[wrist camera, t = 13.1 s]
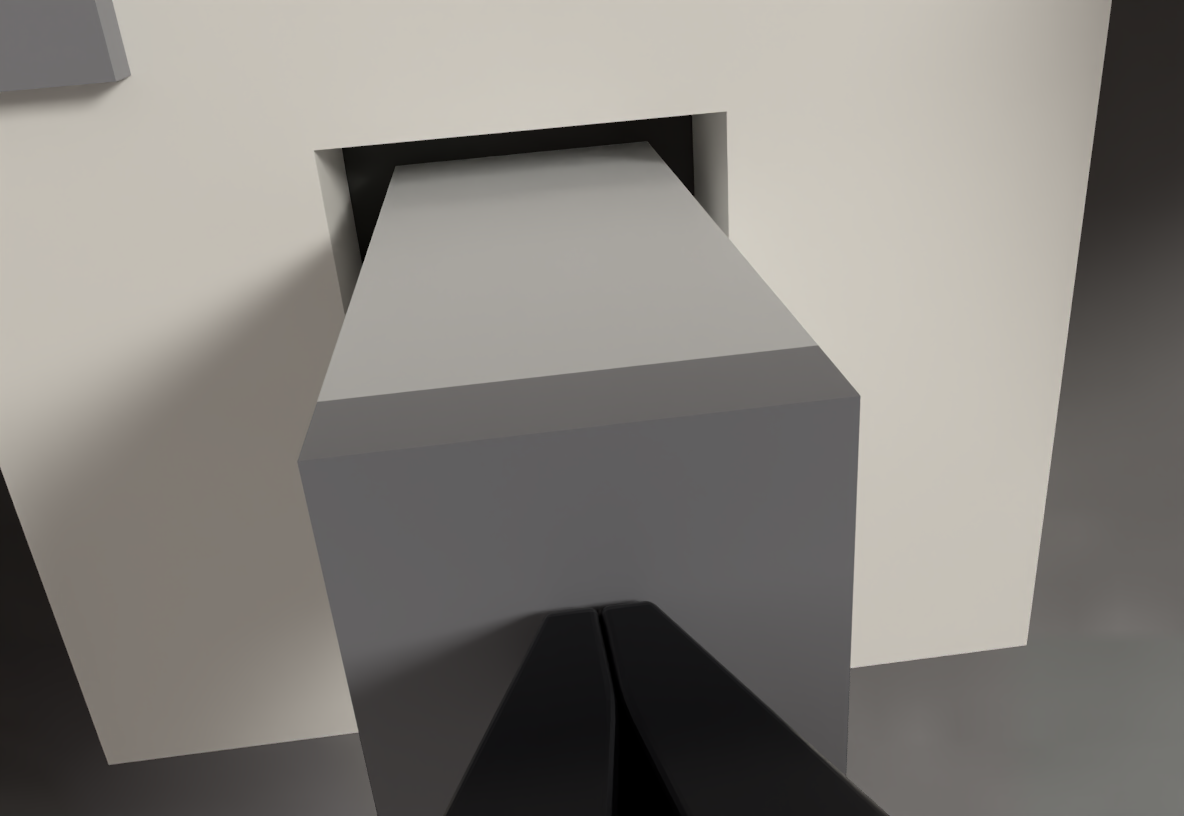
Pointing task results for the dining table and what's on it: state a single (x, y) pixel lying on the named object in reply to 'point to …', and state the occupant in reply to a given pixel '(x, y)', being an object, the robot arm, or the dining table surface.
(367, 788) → the dining table surface
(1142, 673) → the dining table surface
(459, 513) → the plug block
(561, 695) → the robot arm
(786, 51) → the socket plate
